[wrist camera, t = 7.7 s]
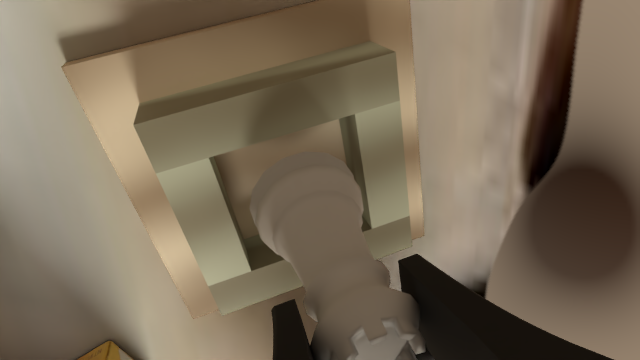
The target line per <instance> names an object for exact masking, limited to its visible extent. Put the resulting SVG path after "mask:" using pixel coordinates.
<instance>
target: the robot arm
mask: <svg viewBox="0 0 640 360" xmlns="http://www.w3.org/2000/svg"><path fill="white" fill-rule="evenodd" d="M398 263H399V272H400V281H401V289H402V292H404V293H407V294H410V295H412V297H413V298H414V299H415V300H416V301H417V303H418V304H419V305H420V323H419V329H418V330H419V332H420V333H421V335H422V337H423V338H424V340H425V346H426V347H427V349H428V350H429V352H430V353H431V354H432V356H433V357H434V359H435V360H614V359H611V358H608V357H606V356H603V355H601V354H598V353H596V352H593V351H591V350H588V349H586V348H583V347H580V346H578V345H575V344H573V343H570V342H568V341H566V340H564V339H562V338H559V337H557V336H555V335H552V334H550V333H548V332H546V331H544V330H542V329H540V328H538V327H536V326H533V325H532V324H530V323H528V322H526V321H524V320H522V319H520V318H518V317H516V316H514V315H512V314H511V313H509V312H507V311H505V310H503V309H502V308H500V307H498V306H496V305H495V304H493V303H491V302H490V301H488V300H486V299H485V298H483V297H481V296H480V295H478V294H476V293H475V292H473V291H472V290H470V289H468V288H467V287H465V286H464V285H462V284H461V283H459V282H458V281H456V280H455V279H453V278H452V277H450V276H449V275H447V274H446V273H444V272H443V271H441V270H440V269H438V268H437V267H435V266H434V265H433V264H431V263H430V262H428V261H427V260H425V259H424V258H423V257H421V256H420V255H418V254H415V255H412V256H410V257H407V258H404V259H401V260H399V261H398ZM271 311H272V317H273V360H314V359H313V356H312V352H311V349H310V345H309V342H308V339H307V335H306V332H305V329H304V326H303V323H302V319H301V316H300V314H299V311H298V308H297V305H296V302H295V299H293V300H290V301H287V302H285V303H282V304H279V305H277V306H274V308H273V309H272V310H271Z"/></svg>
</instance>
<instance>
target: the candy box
mask: <svg viewBox="0 0 640 360" xmlns="http://www.w3.org/2000/svg"><path fill="white" fill-rule="evenodd" d="M77 360H134V359H133V358H131V357H130V356H129V355H128V354H126V353H125V352H124V351H122V350H121V349H120V348H119V347H118V346H117V345H116V344H114V343H113V342H112V341H107V342H105V343H104V344H102V345H100V346H99V347H97V348H95V349H93V350H92V351H91V352H89V353H87V354H86V355H84V356H82V357H80V358H79V359H77Z"/></svg>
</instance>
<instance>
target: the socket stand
mask: <svg viewBox="0 0 640 360" xmlns="http://www.w3.org/2000/svg"><path fill="white" fill-rule="evenodd" d="M61 68H62V70H63V71H64V73H65V75H66V77H67V79H68V81H69V83H70V85H71V87H72V89H73V91H74V92H75V94H76V96H77V98H78V100H79V102H80V104H81V106H82V108H83V110H84V112H85V113H86V115H87V117H88V119H89V121H90V123H91V125H92V127H93V129H94V131H95V133H96V134H97V136H98V138H99V140H100V142H101V144H102V146H103V148H104V150H105V152H106V154H107V155H108V157H109V159H110V161H111V163H112V165H113V167H114V169H115V171H116V173H117V175H118V176H119V178H120V180H121V182H122V184H123V186H124V188H125V190H126V192H127V194H128V196H129V197H130V199H131V201H132V203H133V205H134V207H135V209H136V211H137V213H138V215H139V217H140V219H141V220H142V222H143V224H144V226H145V228H146V230H147V232H148V234H149V236H150V238H151V240H152V241H153V243H154V245H155V247H156V249H157V251H158V253H159V255H160V257H161V259H162V261H163V262H164V264H165V266H166V268H167V270H168V272H169V274H170V276H171V278H172V280H173V282H174V283H175V285H176V287H177V289H178V291H179V293H180V295H181V297H182V299H183V301H184V303H185V304H186V306H187V308H188V310H189V312H190V314H191V316H192V318H193V319H195V318H198V317H201V316H203V315H206V314H209V313H212V312H215V311H217V310H219V311H220V313H221V315H222V316H223V315H226V314H228V313H231V312H234V311H236V310H239V309H242V308H245V307H247V306H250V305H253V304H256V303H258V302H261V301H264V300H267V299H269V298H272V297H275V296H278V295H280V294H283V293H286V292H289V291H291V290H294V289H297V288H300V287H302V286H303V284H302V282H301V280H300V279H299V277H298V275H297V273H296V272H295V270H294V268H293V266H292V265H291V263H290V262H287V261H286V260H285V259H284V258H283V257H281V256H280V255H277V254H276V253H275V252H274V251H273V250H272V249H271V248H269V247H268V246H267V245H266V244H265V243H264V242H263V241H262V239H261V238H260V235H259V232H258V229H257V227H256V226H255V223H254V220H253V218H252V215H251V212H250V209H249V208H250V202H251V195H252V190H253V188H254V187H255V185H256V184H257V182H258V181H259V179H260V177H261V176H262V174H263V173H264V172H265V171H266V170H267V169H269V168H270V167H272V166H273V165H274V164H276V163H277V162H278V161H280V160H281V159H282V158H285V157H289V156H292V155H295V154H298V153H302V152H322V153H328V154H330V155H332V156H334V157H336V158H338V159H340V160H342V161H344V163H345V164H346V165H347V167H348V168H349V170H350V171H351V172H352V174H353V175H354V180H355V181H356V183H357V184H358V185H359V187H360V189H361V195H362V202H363V210H364V211H363V214H362V221H363V224H362V227H361V229H362V232H363V235H364V237H365V240H366V243H367V245H368V248H369V251H370V253H371V254H372V256H373V258H374V260H376V259H379V258H382V257H385V256H387V255H390V254H393V253H396V252H398V251H401V250H404V249H407V248H409V247H412V240H414V239H416V238H419V237H422V236H424V221H423V205H422V189H421V173H420V157H419V141H418V125H417V109H416V93H415V77H414V61H413V45H412V29H411V13H410V0H317V1H313V2H309V3H305V4H301V5H296V6H292V7H288V8H284V9H280V10H276V11H272V12H268V13H264V14H260V15H256V16H252V17H248V18H244V19H240V20H236V21H232V22H228V23H224V24H220V25H216V26H212V27H208V28H203V29H199V30H195V31H191V32H187V33H183V34H179V35H175V36H171V37H167V38H163V39H159V40H155V41H151V42H147V43H143V44H139V45H135V46H131V47H127V48H123V49H119V50H115V51H111V52H106V53H102V54H98V55H94V56H90V57H86V58H82V59H78V60H74V61H70V62H66V63H65V64H64V65H63V66H62V67H61Z"/></svg>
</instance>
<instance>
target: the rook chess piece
mask: <svg viewBox="0 0 640 360" xmlns="http://www.w3.org/2000/svg"><path fill="white" fill-rule="evenodd" d="M249 209H250V212H251V215H252V218H253V220H254V223H255V226H256V227H257V229H258V232H259V235H260V238H261V239H262V241H263V242H264V243H265V244H266V245H267V246H268V247H269V248H271V249H272V250H273V251H274V252H275V253H276V254H277V255H280V256H281V257H283V258H284V259H285V260H286V261H287V262H290V263H291V265H292V266H293V268H294V270H295V272H296V273H297V275H298V277H299V279H300V280H301V282H302V284H303V286H304V288H305V291H306V294H305V298H304V301H303V303H304V307H305V310H306V313H307V315H309V316H310V317H311V318H312V319H314V320H315V321H316V322H318V324H317V326H316V329H315V332H314V335H313V338H312V342H311V345H310V349H311V352H312V356H313V359H314V360H417V359H416V357H415V355H414V353H413V351H414V352H415V354H419V353H422V352H425V340H424V338H423V337H422V335H421V333H420V332H419V330H418V329H419V323H420V305H419V304H418V303H417V301H416V300H415V299H414V298H413V297H412V295H410V294H407V293H404V292H401V291H397V290H394V289H391V288H389V285H390V275H389V270H388V269H387V268H386V267H385V266H384V264H383V263H382V262H380V261H377V260H374V258H373V256H372V254H371V253H370V251H369V248H368V245H367V243H366V240H365V237H364V235H363V232H362V229H361V227H362V224H363V221H362V214H363V211H364V210H363V202H362V195H361V189H360V187H359V185H358V184H357V183H356V181H355V180H354V175H353V174H352V172H351V171H350V170H349V168H348V167H347V165H346V164H345V163H344V161H342V160H340V159H338V158H336V157H334V156H332V155H330V154H328V153H322V152H302V153H298V154H295V155H292V156H289V157H285V158H282V159H281V160H280V161H278V162H277V163H276V164H274V165H273V166H272V167H270V168H269V169H267V170H266V171H265V172H264V173H263V174H262V176H261V177H260V179H259V181H258V182H257V184H256V185H255V187H254V188H253V190H252V195H251V202H250V208H249ZM411 349H413V351H412V350H411Z"/></svg>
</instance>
